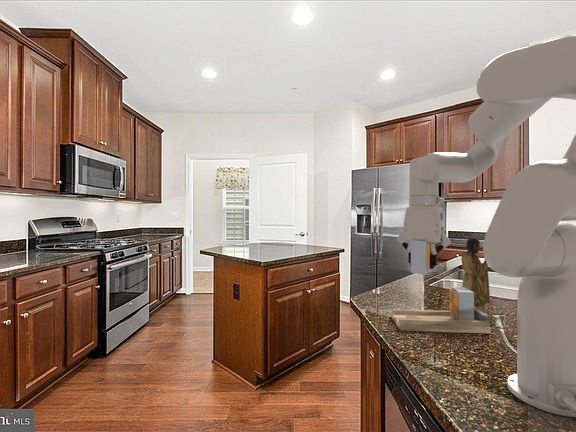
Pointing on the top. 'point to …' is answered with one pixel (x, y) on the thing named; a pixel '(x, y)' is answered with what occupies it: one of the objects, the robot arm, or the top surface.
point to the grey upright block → (420, 257)
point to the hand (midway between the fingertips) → (422, 266)
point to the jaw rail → (446, 316)
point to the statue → (476, 274)
